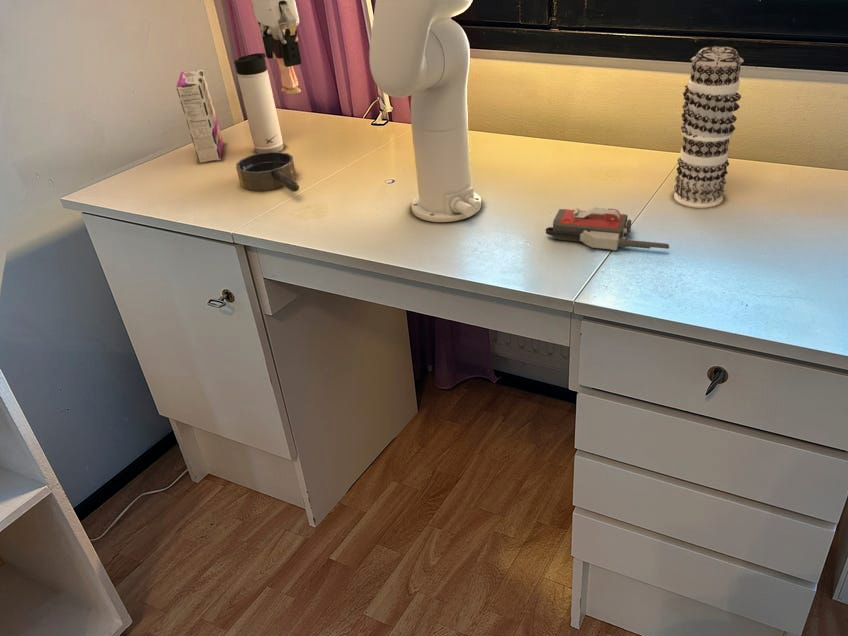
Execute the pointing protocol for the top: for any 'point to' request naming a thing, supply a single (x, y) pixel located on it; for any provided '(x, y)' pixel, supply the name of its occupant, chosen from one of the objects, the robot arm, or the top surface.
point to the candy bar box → (200, 115)
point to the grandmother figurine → (286, 72)
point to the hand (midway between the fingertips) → (283, 60)
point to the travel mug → (259, 103)
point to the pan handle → (286, 180)
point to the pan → (264, 170)
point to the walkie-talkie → (596, 229)
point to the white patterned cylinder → (707, 126)
